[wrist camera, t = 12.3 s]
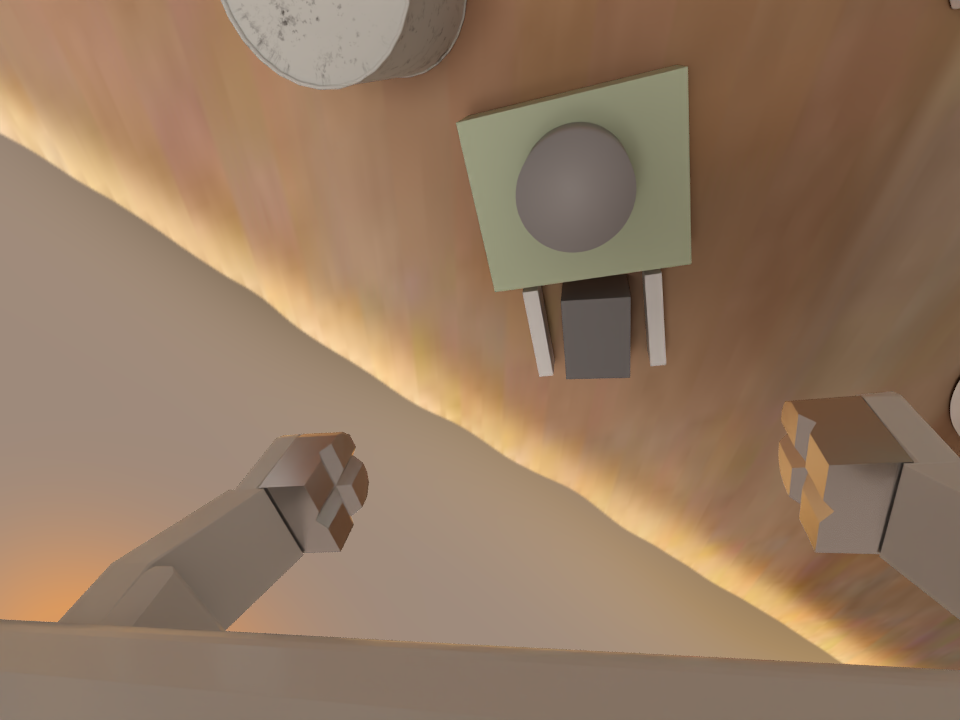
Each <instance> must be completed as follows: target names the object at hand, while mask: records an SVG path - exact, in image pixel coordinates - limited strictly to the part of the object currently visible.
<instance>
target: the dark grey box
mask: <svg viewBox="0 0 960 720" xmlns="http://www.w3.org/2000/svg"><path fill="white" fill-rule="evenodd" d="M561 309H562V323H563V338H564V352H565V366H566V379H594V378H630V329H631V296H630V290H629V285H628V279H627V274H623V275H611V276H604V277H597V278H590V279H583V280H576V281H569V282H563V285H562V296H561Z"/></svg>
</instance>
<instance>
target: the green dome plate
mask: <svg viewBox="0 0 960 720" xmlns="http://www.w3.org/2000/svg"><path fill="white" fill-rule="evenodd" d="M456 125H457V129H458V134H459V138H460V142H461V147H462V151H463V155H464V160H465V164H466V168H467V173H468V177H469V181H470V186H471V190H472V194H473V199H474V203H475V207H476V212H477V216H478V220H479V225H480V229H481V233H482V238H483V242H484V247H485V251H486V255H487V260H488V264H489V268H490V273H491V277H492V281H493V286H494V290H495V292H500V291H507V290H514V289H521V288H524V289H523V297H524V302H525V307H526V312H527V317H528V322H529V327H530V332H531V337H532V342H533V347H534V352H535V357H536V362H537V367H538V372H539V377H541V376H551V375H553V372H554V362H555V359H554V354H553V348H552V342H551V337H550V331H549V326H548V320H547V315H546V309H545V303H544V298H543V292H542V287H541V285H548V284H555V283H562V282H569V281H576V280H583V279H590V278H597V277H604V276H611V275H618V274H625V273H632V272H639V271H642V280H643V295H644V309H645V323H646V337H647V351H648V356H649V360H650V365H651V366H658V365H666V350H665V330H664V310H663V290H662V273H661V270H660V268H667V267H674V266H681V265H688V264H691V213H690V158H689V103H688V67H687V66H681V65H674V66H670V67H666V68H661V69H657V70H653V71H649V72H645V73H641V74H637V75H633V76H629V77H625V78H621V79H617V80H613V81H608V82H604V83H600V84H596V85H592V86H588V87H584V88H580V89H576V90H572V91H568V92H564V93H560V94H555V95H551V96H547V97H543V98H539V99H535V100H531V101H527V102H523V103H519V104H515V105H511V106H506V107H502V108H498V109H494V110H490V111H486V112H482V113H478V114H474V115H470V116H467V117H465V118H464V119H462V120H460V121H459V122H457V123H456Z"/></svg>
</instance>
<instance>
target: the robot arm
mask: <svg viewBox="0 0 960 720" xmlns="http://www.w3.org/2000/svg"><path fill="white" fill-rule="evenodd" d="M950 416H951V421H952V424H953V426H954V428H955V430H956V432H957V433H958V435H959V436H960V381H959V382H958V384H957V386H956V388H955V390H954V393H953V396H952V400H951V405H950ZM781 422H782V424H783V426H784V428H785V430H786V432H787V434H786V435H785V436H784V437H783V438H782V439H781V440H780V441H779V451H778V459H779V467H780V474H781V477H782V480H783V484H784V486H785V488H786V491H787V493H788V495H789V497H790V498H792V499H793V500H795V501H796V502H798V503H799V504H800V513H799V519H800V521H801V524H802V526H803V528H804V530H805V532H806V534H807V536H808V538H809V541H810V543H811V545H812V547H813V549H814V551H815V552H819V553H859V554H880V557H881V558H882V559H883V560H884V561H886V562H887V563H888V564H890V565H891V566H892V567H893V568H895V569H896V570H897V571H898V572H900V573H901V574H902V575H904V576H905V577H906V578H907V579H909V580H910V581H911V582H912V583H914V584H915V585H916V586H918V587H919V588H920V589H921V590H923V591H924V592H925V593H926V594H928V595H929V596H930V597H932V598H933V599H934V600H935V601H937V602H938V603H939V604H940V605H942V606H943V607H944V608H946V609H947V610H948V611H949V612H951V613H952V614H953V615H954V616H956V617H957V618H958V619H960V458H959V457H958V456H957V455H956V453H955V452H954V451H953V450H952V449H951V448H950V447H949V446H948V445H947V444H946V443H945V442H944V441H943V440H942V439H941V437H940V436H939V435H938V434H937V433H936V432H935V431H934V430H933V429H932V428H931V427H930V426H929V425H928V424H927V422H926V421H925V420H924V419H923V418H922V417H921V416H920V415H919V414H918V413H917V412H916V411H915V410H914V409H913V408H912V406H911V405H910V404H909V403H908V402H907V401H906V400H905V399H904V398H903V397H902V396H901V395H900V394H898V393H895V392H893V391H892V392H881V393H870V394H860V395H855V396H848V397H835V398H821V399H808V400H795V401H785V403H784V406H783V408H782V416H781ZM355 448H356V446H355V444H354V443H353V440H352V438H351V437H350V435H349V434H346V433H344V432H336V433H314V434H302V435H300V434H298V435H283V436H281V437H278V438H276V439H275V440H274V442H273V443H272V444H271V445H270V447H269V448H268V449H267V450H266V452H265V453H264V454H263V455H262V457H261V458H260V459H259V460H258V462H257V463H256V464H255V465H254V467H253V468H252V469H251V470H250V472H249V473H248V474H247V475H246V477H245V478H244V479H243V480H242V482H241V483H240V484H239V485H238V487H237V488H236V489H235V490H228V491H226V492H225V493H223V494H222V495H220V496H218V497H217V498H215V499H214V500H212V501H210V502H209V503H207V504H206V505H204V506H202V507H201V508H199V509H198V510H196V511H194V512H193V513H191V514H190V515H188V516H186V517H185V518H184V519H182V520H180V521H179V522H177V523H176V524H174V525H173V526H171V527H169V528H168V529H166V530H164V531H163V532H161V533H159V534H158V535H156V536H155V537H153V538H151V539H150V540H148V541H147V542H145V543H144V544H142V545H140V546H139V547H137V548H136V549H134V550H132V551H131V552H129V553H128V554H126V555H124V556H123V557H121V558H120V559H118V560H116V561H115V562H113V563H112V564H111V565H110V566H109V567H108V568H107V569H106V570H105V571H104V572H103V573H102V575H101V576H100V577H99V578H98V579H97V580H96V581H95V582H94V583H93V584H92V585H91V586H90V588H89V589H88V590H87V591H86V592H85V593H84V594H83V595H82V596H81V597H80V599H78V601H77V602H76V603H75V604H74V605H73V606H72V607H71V608H70V609H69V610H68V612H67V613H66V614H65V615H64V616H63V617H62V618H61V619H60V620H59V621H58V622H40V621H39V622H38V621H21V620H2V619H0V720H960V670H945V669H926V668H907V667H888V666H869V665H850V664H832V663H813V662H794V661H793V662H792V661H774V660H755V659H736V658H718V657H700V656H699V657H698V656H681V655H662V654H643V653H624V652H603V651H586V650H567V649H547V648H527V647H509V646H490V645H470V644H451V643H432V642H431V643H430V642H413V641H393V640H377V639H359V638H341V637H322V636H302V635H286V634H266V633H248V632H230V631H228V632H227V631H225V630H226V629H227V628H228V627H229V626H230V625H231V624H232V623H233V622H235V620H237V619H238V618H239V617H240V616H241V615H242V614H243V613H244V612H245V611H246V610H247V609H248V608H249V607H250V606H251V605H252V604H253V603H254V602H255V601H256V600H257V599H258V598H259V597H260V596H262V595H263V594H264V593H265V592H266V591H267V590H268V589H269V588H270V587H271V586H272V585H273V584H274V583H275V582H276V581H277V580H278V579H279V578H280V577H281V576H282V575H283V574H284V573H285V572H286V571H287V570H288V569H289V568H291V567H292V566H293V565H294V564H295V563H296V562H297V561H298V560H299V559H300V558H301V557H302V556H303V553H315V552H340V551H341V550H342V548H343V546H344V543H345V541H346V540H347V538H348V535H349V533H350V531H351V529H352V527H353V525H354V524H353V521H352V518H351V516H352V515H353V514H354V513H356V512H357V511H358V510H359V509H361V508H362V506H363V504H364V502H365V500H366V497H367V493H368V485H369V481H368V475H367V471H366V468H365V466H364V464H363V462H361V461H360V460H359V459H357V458H356V457H355V456H353V454H354V451H355Z"/></svg>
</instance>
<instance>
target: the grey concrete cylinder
mask: <svg viewBox="0 0 960 720" xmlns="http://www.w3.org/2000/svg"><path fill="white" fill-rule="evenodd" d="M221 2H222V4H223V7H224V9H225V11H226V14H227V16H228V18H229V19H230V21H231V23H232V24H233V26H234V27H235V29H236V31H237V32H238V34H239V35H240V37H241V39H242V40H243V41H244V43H245V44H246V45H247V46H248V47H249V48H250V49H251V51H252V52H253V53H254V54H255V55H256V56H257V57H258V58H259V60H261V61H262V62H263V63H264V64H266V65H267V66H268V67H269V68H271V69H272V70H273V71H274V72H276V73H277V74H278V75H280V76H282V77H284V78H286V79H288V80H290V81H292V82H294V83H296V84H298V85H301V86H305V87H310V88H314V89H318V90H327V89H342V88H345V87H348V86H351V85H354V84H360V83H367V82H373V81H379V80H386V79H392V78H402V77H413V76H416V75H419V74H422V73H425V72H427V71H428V70H430V69H432V68H433V67H435V66H436V65H438V64H439V63H440V62H441V61H442V60H443V58H444V57H445V56H446V55H447V54H448V53H449V52H450V50H451V49H452V47H453V45H454V43H455V42H456V40H457V38H458V36H459V33H460V30H461V27H462V24H463V21H464V17H465V10H466V2H467V0H221Z"/></svg>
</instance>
